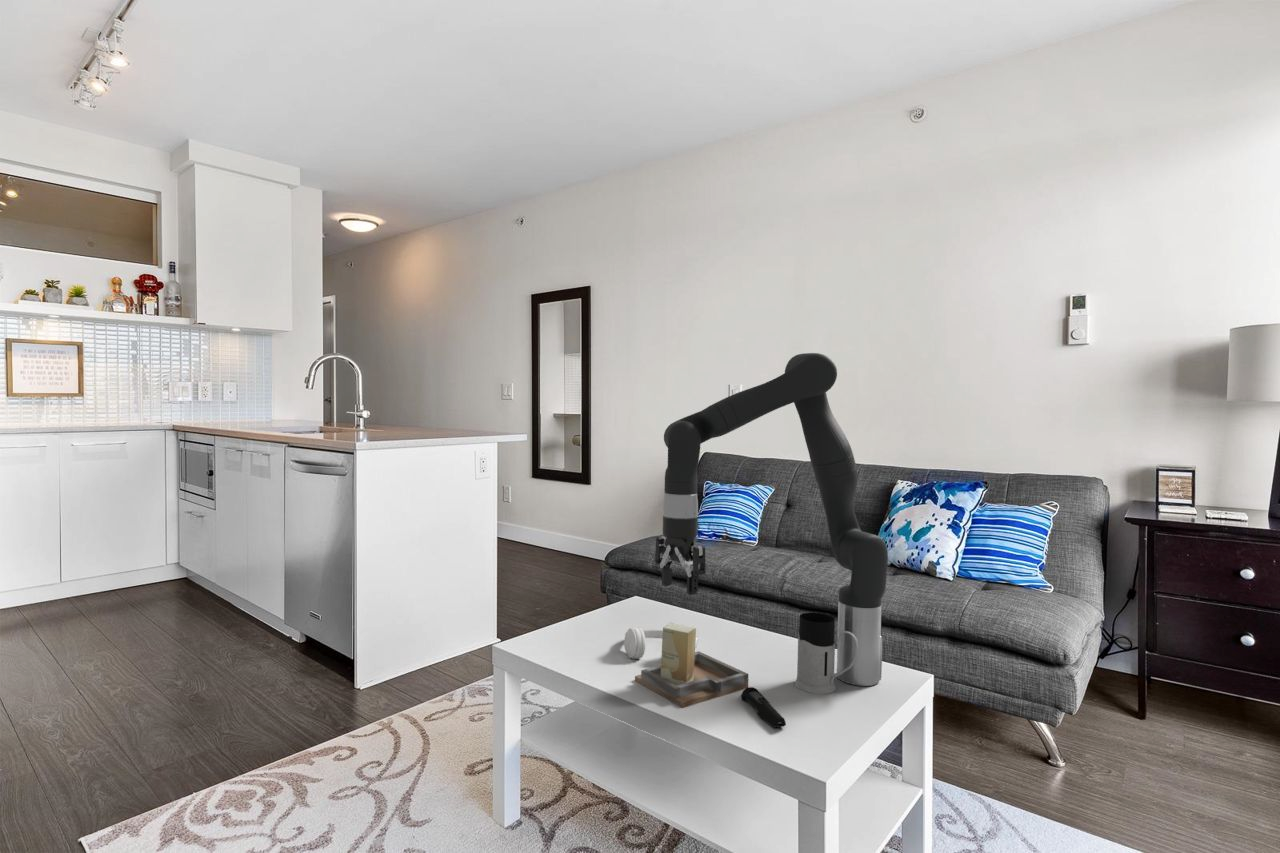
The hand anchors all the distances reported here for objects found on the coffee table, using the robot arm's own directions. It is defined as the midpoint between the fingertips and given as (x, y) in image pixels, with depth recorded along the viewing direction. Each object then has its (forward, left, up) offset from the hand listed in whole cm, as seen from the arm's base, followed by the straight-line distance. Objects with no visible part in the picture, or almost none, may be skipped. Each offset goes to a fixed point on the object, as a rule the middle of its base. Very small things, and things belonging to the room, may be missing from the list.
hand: (678, 589), depth 143 cm
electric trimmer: (-7, +19, -22) cm, 30 cm away
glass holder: (-27, +18, -21) cm, 39 cm away
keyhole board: (-4, 0, -21) cm, 22 cm away
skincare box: (0, 0, -20) cm, 20 cm away
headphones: (-11, -21, -22) cm, 32 cm away
